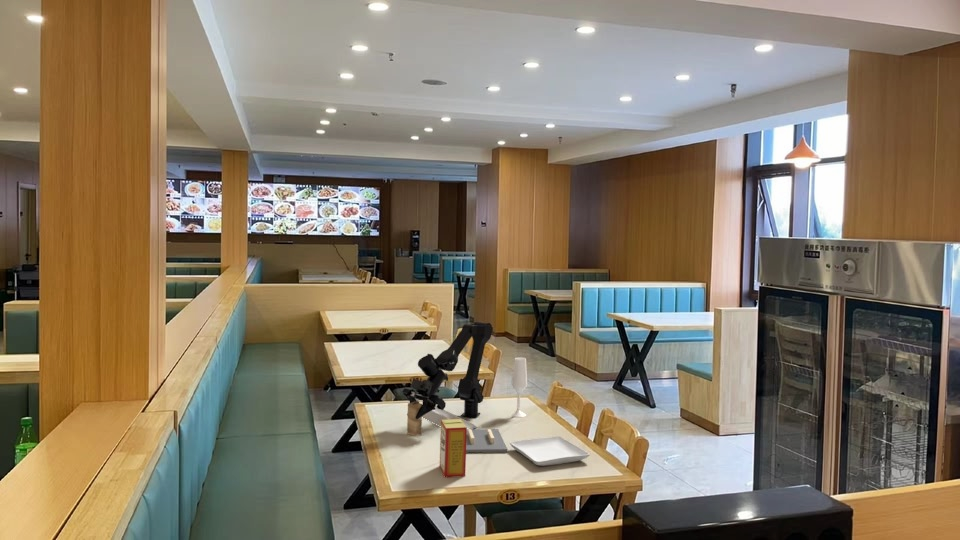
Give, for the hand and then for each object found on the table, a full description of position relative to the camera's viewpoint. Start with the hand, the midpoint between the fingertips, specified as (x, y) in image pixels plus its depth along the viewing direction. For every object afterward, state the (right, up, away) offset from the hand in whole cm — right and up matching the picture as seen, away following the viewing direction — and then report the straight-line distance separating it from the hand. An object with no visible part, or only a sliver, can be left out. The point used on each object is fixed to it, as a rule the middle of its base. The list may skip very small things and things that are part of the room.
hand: (412, 417), depth 241 cm
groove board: (+26, -8, -5) cm, 27 cm away
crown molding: (+10, -6, +20) cm, 23 cm away
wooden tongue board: (+1, -7, +2) cm, 7 cm away
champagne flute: (+42, -6, +30) cm, 52 cm away
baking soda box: (+16, -10, -34) cm, 39 cm away
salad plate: (+49, -10, -17) cm, 53 cm away
